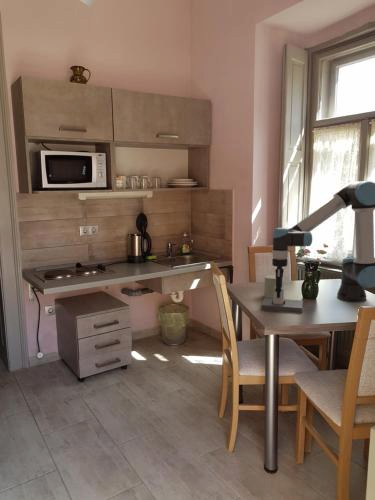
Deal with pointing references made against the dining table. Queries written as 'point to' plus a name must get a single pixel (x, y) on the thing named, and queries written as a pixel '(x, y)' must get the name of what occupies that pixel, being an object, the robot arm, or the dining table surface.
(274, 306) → the socket
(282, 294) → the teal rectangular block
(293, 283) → the dining table surface
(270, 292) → the can
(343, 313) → the dining table surface
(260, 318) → the dining table surface
